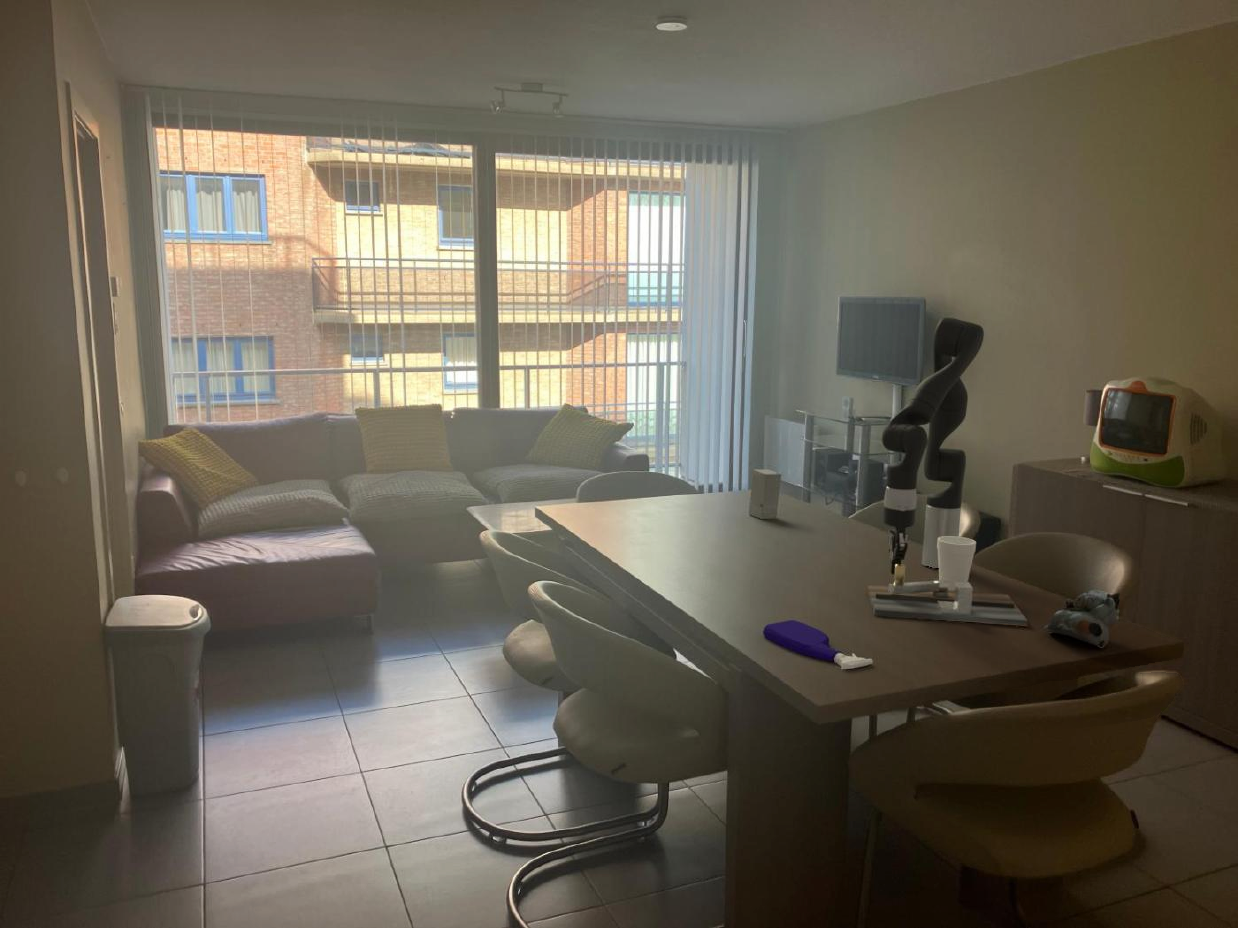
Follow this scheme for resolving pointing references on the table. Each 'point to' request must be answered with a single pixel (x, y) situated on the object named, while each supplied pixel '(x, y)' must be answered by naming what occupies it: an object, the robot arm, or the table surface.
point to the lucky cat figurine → (1087, 617)
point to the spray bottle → (809, 643)
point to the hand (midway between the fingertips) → (895, 573)
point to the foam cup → (955, 559)
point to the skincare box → (764, 494)
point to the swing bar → (914, 584)
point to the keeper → (958, 600)
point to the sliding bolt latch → (926, 603)
